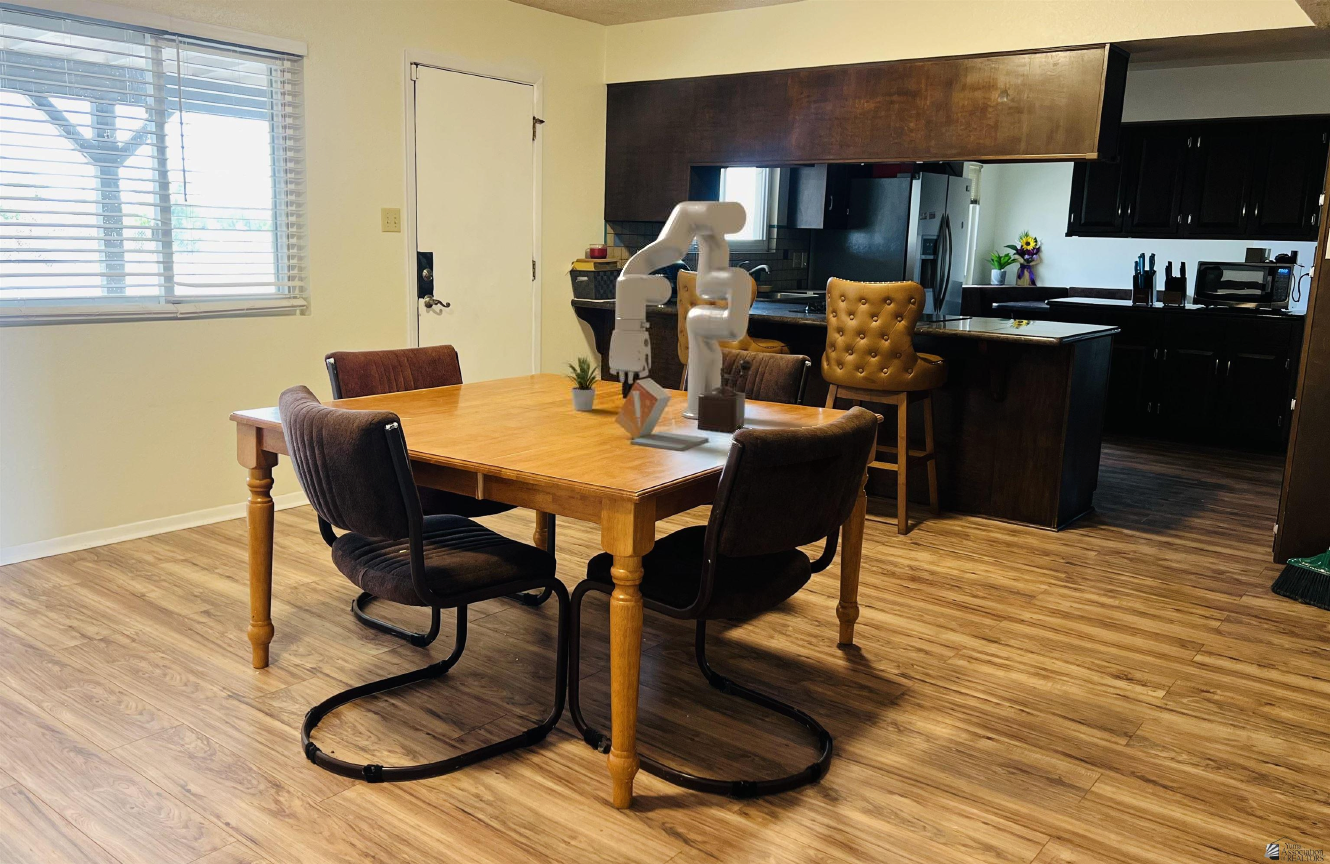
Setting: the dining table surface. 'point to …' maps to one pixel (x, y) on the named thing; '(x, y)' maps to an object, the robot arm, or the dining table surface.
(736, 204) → the robot arm
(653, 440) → the mat
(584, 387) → the house plant
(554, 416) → the dining table surface
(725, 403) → the manual coffee grinder
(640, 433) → the small box
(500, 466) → the dining table surface
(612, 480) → the dining table surface
